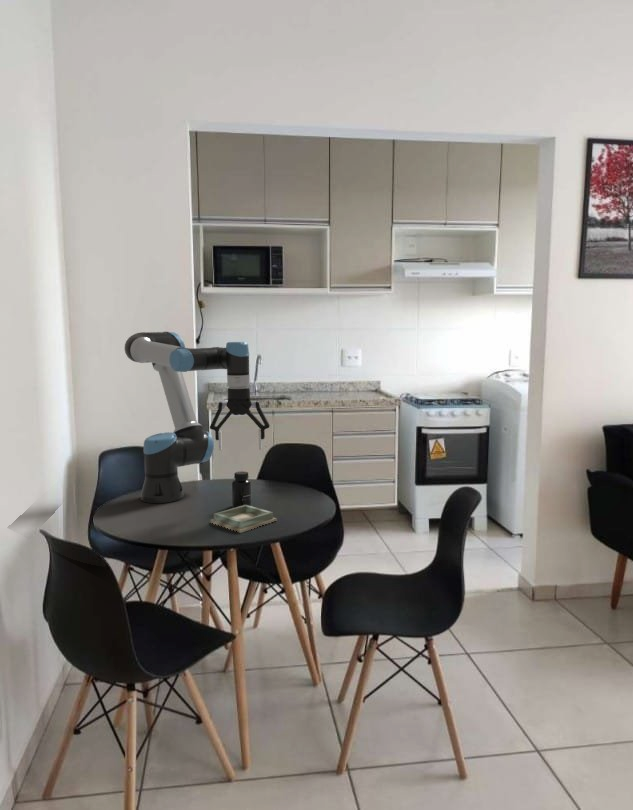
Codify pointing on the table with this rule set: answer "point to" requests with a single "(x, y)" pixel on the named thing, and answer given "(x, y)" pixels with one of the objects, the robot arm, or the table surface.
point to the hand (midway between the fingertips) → (240, 449)
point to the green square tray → (243, 518)
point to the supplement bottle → (241, 490)
